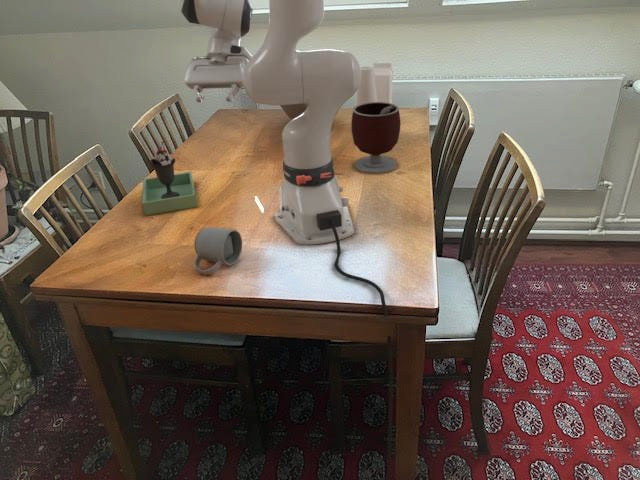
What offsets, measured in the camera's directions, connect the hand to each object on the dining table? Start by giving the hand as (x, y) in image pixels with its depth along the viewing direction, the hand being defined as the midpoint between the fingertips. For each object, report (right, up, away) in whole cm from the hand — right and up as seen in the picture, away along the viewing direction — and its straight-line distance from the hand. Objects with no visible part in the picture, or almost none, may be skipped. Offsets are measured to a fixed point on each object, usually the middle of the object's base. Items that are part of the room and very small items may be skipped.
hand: (214, 101), depth 145 cm
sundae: (-12, -26, -1) cm, 29 cm away
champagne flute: (+45, -6, +28) cm, 53 cm away
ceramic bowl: (+25, +6, +52) cm, 58 cm away
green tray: (-12, -27, -1) cm, 29 cm away
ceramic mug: (+7, -44, -31) cm, 54 cm away
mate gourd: (+46, -17, +11) cm, 50 cm away
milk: (+51, +1, +40) cm, 65 cm away
